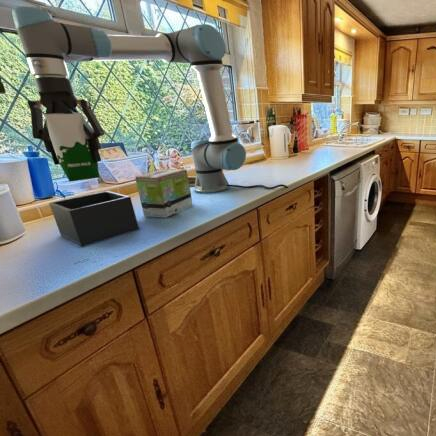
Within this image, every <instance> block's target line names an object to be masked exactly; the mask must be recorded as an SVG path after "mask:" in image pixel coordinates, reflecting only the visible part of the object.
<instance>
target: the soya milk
mask: <svg viewBox="0 0 436 436" xmlns="http://www.w3.org/2000/svg"><path fill="white" fill-rule="evenodd" d="M44 116H45V117H44V118H45V119H44V121H45V120H47V124H46V126H47V125H48V131H49V135H50V138H51V141H52V144H53V147H54V150H55V153H56V156H57V159H58V161H59V164H58V165H59V166H60V168H61V169H62V171H63V173H64V175H65V176H66V178H67V180H68V182H77V181H83V180H91V179H99V178H100V171H99V164H98V163H99V162H94V161H93V158H92V154H91V151H90V148H89V144H88V141H87V139H89V138H90V137H89V136H88V135H87V134H86V133H85V131H84V129H83V123H84V124H86V123H85V121H86V118H85V117H84V116H83V113H82V112H79V113H78V114H64V113H55V114H50V115H47V114H44ZM84 120H85V121H84Z"/></svg>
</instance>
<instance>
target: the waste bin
mask: <svg viewBox="0 0 436 436" xmlns="http://www.w3.org/2000/svg"><path fill="white" fill-rule="evenodd" d="M48 203H49V206H50V210H51V212H52V215H53V218H54V220H55V223H56V227H57V229H58V231H59V234H60V236H61V237H62V238H64V239H66V240H67V241H70V242H71V243H73V244H75V245H77V246H79V247H81V248H83V247H86V246H89V245H92V244H96V243H99V242H102V241H105V240H108V239H111V238H114V237H118V236H121V235H124V234H127V233H130V232H133V231H136V230H140V228H139V224H138V220H137V216H136V212H135V209H134V205H133V201H132V198H131V196H130V195H125V194H123V193H118V192H114V191H110V190H104V191H101V192H95V193H91V194H86V195H82V196H76V197H70V198H67V199H62V200H57V201H51V202H48Z"/></svg>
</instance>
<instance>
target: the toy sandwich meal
mask: <svg viewBox="0 0 436 436" xmlns="http://www.w3.org/2000/svg"><path fill="white" fill-rule="evenodd" d="M188 181H189V187H195V181H196V175H188Z"/></svg>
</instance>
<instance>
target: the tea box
mask: <svg viewBox="0 0 436 436" xmlns="http://www.w3.org/2000/svg"><path fill="white" fill-rule="evenodd" d="M188 176H189V175H188V171H187V169H184V168H183V169H180V168H177V169H175V168H165V169H161V170H156V171H151V172H149V173H145V174H141V175H137V176H135V177H134V178H135V183H136V187H137V192H138V196H139V201H140V205H141V210H142V213H143V216H144V217H147V218H164V219H166V218H169V217H170V216H172V215H174V214H177V213H179V212H181V211H183V210H185V209H188V208H190V207H193V204H194V203H193V198H192V193H191V188H190V187H191V186H189V181H188Z"/></svg>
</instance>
